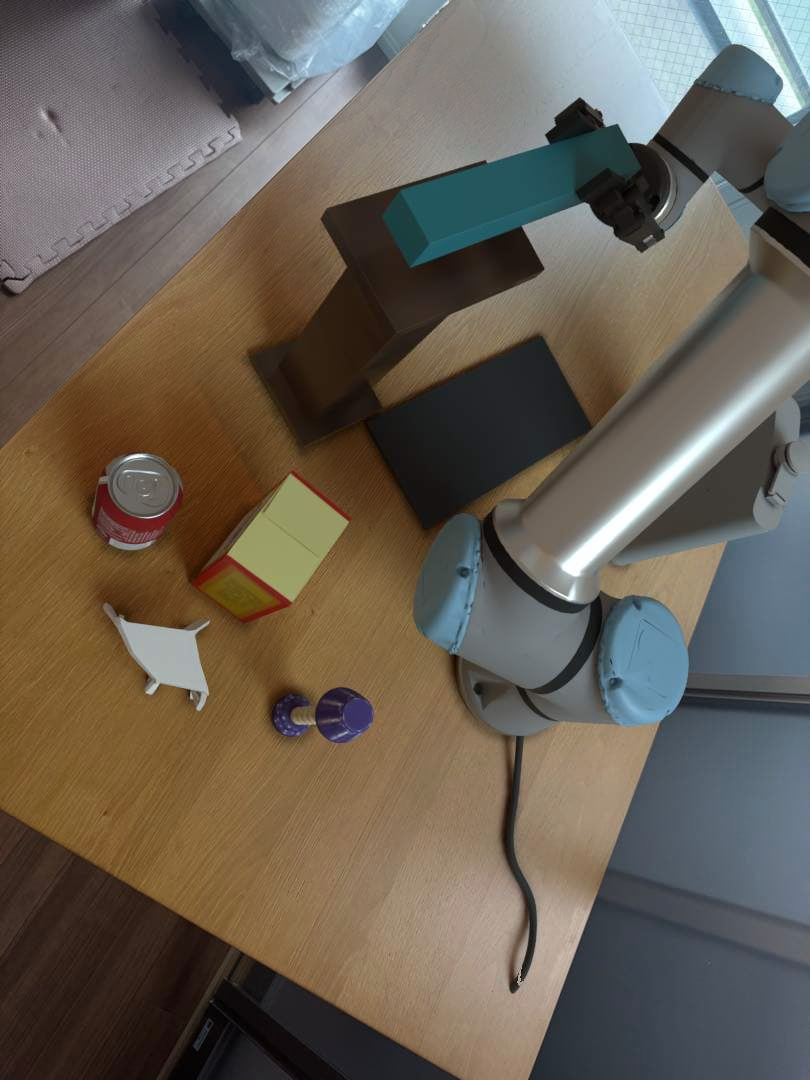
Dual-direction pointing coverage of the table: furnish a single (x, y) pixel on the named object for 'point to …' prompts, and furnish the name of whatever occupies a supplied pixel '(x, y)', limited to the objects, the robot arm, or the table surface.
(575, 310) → the table surface
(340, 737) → the toy lamp
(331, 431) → the stand
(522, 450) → the mat
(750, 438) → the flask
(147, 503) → the soda can
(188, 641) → the white flat legged piece
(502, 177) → the block
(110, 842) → the table surface
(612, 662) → the robot arm
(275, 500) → the baking soda box
